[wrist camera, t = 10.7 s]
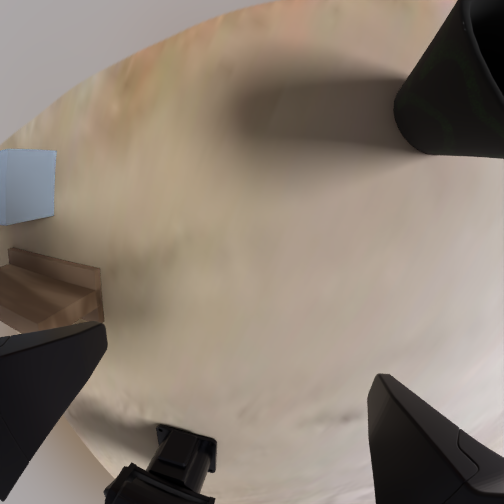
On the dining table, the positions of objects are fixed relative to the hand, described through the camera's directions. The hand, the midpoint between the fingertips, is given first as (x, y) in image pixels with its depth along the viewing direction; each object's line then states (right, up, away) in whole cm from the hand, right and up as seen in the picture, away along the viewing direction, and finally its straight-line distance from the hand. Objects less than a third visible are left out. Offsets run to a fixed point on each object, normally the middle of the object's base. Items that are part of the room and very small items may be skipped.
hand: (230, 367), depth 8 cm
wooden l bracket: (-19, +1, +15) cm, 25 cm away
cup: (+13, +13, +8) cm, 20 cm away
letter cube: (-20, +10, +14) cm, 26 cm away
